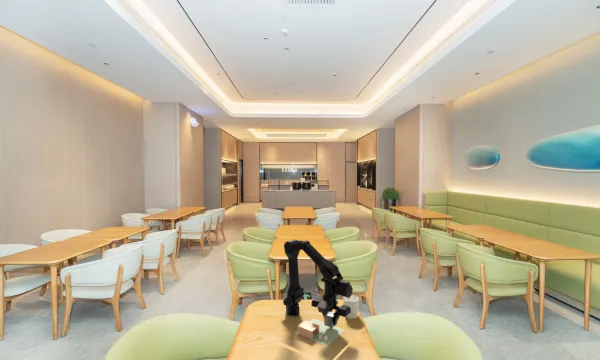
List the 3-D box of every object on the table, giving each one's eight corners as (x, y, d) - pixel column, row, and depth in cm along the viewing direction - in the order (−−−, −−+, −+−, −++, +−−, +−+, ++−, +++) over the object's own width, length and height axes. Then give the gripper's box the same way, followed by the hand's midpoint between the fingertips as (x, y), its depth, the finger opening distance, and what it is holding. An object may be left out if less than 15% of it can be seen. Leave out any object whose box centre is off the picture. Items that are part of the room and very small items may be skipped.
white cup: (358, 321, 149) (358, 302, 149) (342, 320, 151) (342, 300, 150) (358, 314, 157) (358, 295, 156) (343, 312, 158) (343, 294, 158)
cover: (297, 333, 137) (297, 325, 137) (305, 327, 142) (305, 320, 142) (311, 339, 132) (311, 331, 132) (319, 333, 137) (319, 325, 137)
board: (294, 334, 138) (294, 325, 138) (313, 320, 151) (313, 311, 151) (327, 348, 127) (327, 338, 127) (345, 331, 140) (345, 322, 140)
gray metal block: (324, 325, 141) (324, 314, 141) (329, 321, 144) (329, 311, 144) (332, 328, 138) (332, 317, 138) (337, 323, 142) (336, 313, 141)
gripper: (304, 292, 140) (304, 325, 140) (339, 303, 128) (339, 338, 129) (317, 285, 149) (317, 315, 149) (351, 294, 137) (351, 327, 138)
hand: (330, 323), depth 141 cm, fingers closed on gray metal block, 4 cm apart
